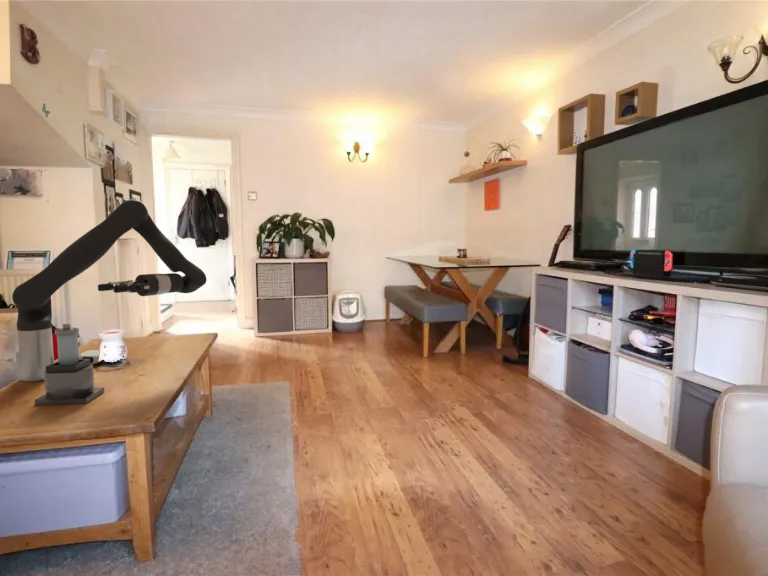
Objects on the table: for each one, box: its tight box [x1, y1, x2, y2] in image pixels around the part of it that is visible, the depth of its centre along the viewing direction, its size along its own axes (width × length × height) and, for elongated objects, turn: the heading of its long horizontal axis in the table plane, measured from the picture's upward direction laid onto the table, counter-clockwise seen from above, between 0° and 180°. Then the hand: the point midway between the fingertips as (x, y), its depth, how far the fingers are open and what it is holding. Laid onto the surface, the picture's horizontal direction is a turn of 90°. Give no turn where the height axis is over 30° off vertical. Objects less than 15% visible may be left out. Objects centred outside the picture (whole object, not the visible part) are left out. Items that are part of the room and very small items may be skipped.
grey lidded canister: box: [54, 323, 80, 366], centre depth 132 cm, size 6×6×14 cm
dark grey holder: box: [34, 359, 105, 406], centre depth 134 cm, size 14×14×11 cm
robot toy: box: [79, 349, 99, 366], centre depth 172 cm, size 12×4×15 cm
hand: (106, 288), depth 142 cm, fingers open, 8 cm apart
